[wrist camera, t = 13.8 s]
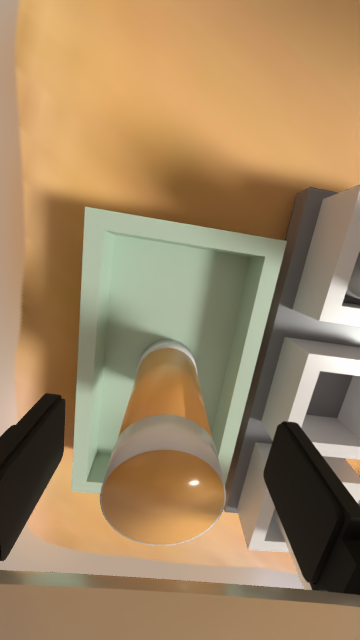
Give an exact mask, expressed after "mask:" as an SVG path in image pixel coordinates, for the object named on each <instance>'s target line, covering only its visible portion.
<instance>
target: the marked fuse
mask: <svg viewBox="0 0 360 640" xmlns="http://www.w3.org/2000/svg"><path fill="white" fill-rule="evenodd" d="M225 501H226V490H225V484H224V480H223V476H222V472H221V468H220V464H219V459H218V455H217V451H216V447H215V444H214V442H213V440H212V435H211V431H210V427H209V422H208V418H207V414H206V409H205V405H204V401H203V397H202V392H201V388H200V384H199V379H198V375H197V368H196V363H195V359H194V356H193V354H192V352H191V350H190V349H189V348H188V347H187V346H186V345H185V344H183V343H181V342H179V341H176V340H172V339H163V340H159V341H156V342H154V343H152V344H150V345H149V346H148V347H147V348H146V349H145V350H144V352H143V353H142V355H141V358H140V362H139V365H138V368H137V374H136V378H135V381H134V384H133V388H132V391H131V395H130V398H129V401H128V405H127V408H126V412H125V415H124V418H123V422H122V425H121V429H120V432H119V435H118V439H117V441H116V443H115V445H114V448H113V451H112V454H111V458H110V461H109V464H108V468H107V471H106V474H105V478H104V481H103V484H102V488H101V493H100V505H101V509H102V512H103V515H104V517H105V518H106V520H107V521H108V523H109V524H110V525H111V526H112V527H113V528H114V529H115V530H116V531H117V532H118V533H120V534H121V535H123V536H125V537H126V538H128V539H130V540H133V541H135V542H139V543H142V544H147V545H155V546H167V545H175V544H180V543H183V542H187V541H189V540H192V539H194V538H196V537H198V536H200V535H202V534H203V533H205V532H206V531H207V530H208V529H210V528H211V527H212V526H213V525H214V524H215V523H216V521H217V520H218V519H219V517H220V515H221V514H222V512H223V509H224V506H225Z"/></svg>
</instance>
